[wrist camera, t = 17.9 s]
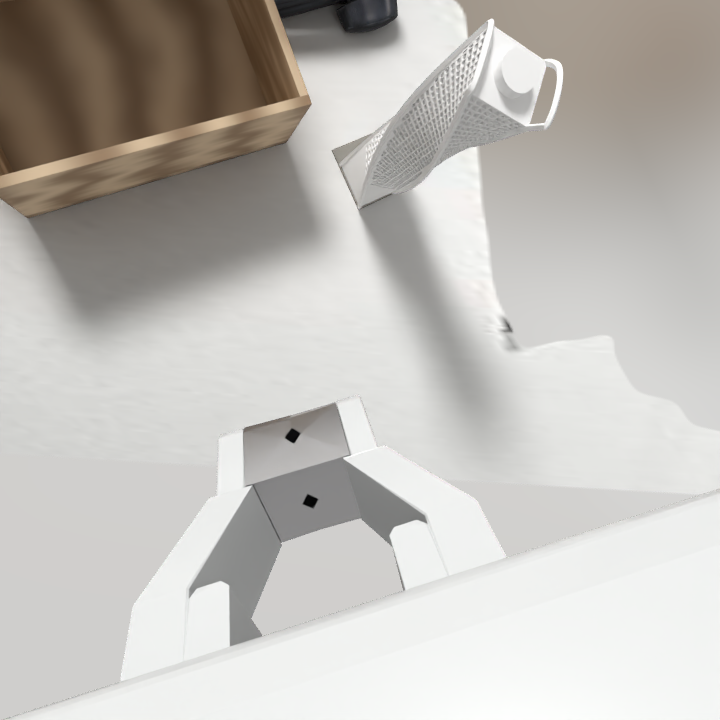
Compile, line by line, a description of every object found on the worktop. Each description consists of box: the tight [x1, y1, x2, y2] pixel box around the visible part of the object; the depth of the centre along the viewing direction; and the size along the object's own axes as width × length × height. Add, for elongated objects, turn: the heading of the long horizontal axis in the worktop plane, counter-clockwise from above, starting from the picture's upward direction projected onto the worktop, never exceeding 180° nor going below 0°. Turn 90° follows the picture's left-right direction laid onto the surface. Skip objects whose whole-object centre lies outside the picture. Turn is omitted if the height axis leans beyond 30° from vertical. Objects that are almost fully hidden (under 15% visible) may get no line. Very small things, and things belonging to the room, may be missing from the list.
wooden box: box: [0, 0, 312, 218], centre depth 42 cm, size 26×18×10 cm
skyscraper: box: [332, 19, 563, 210], centre depth 43 cm, size 8×8×28 cm
